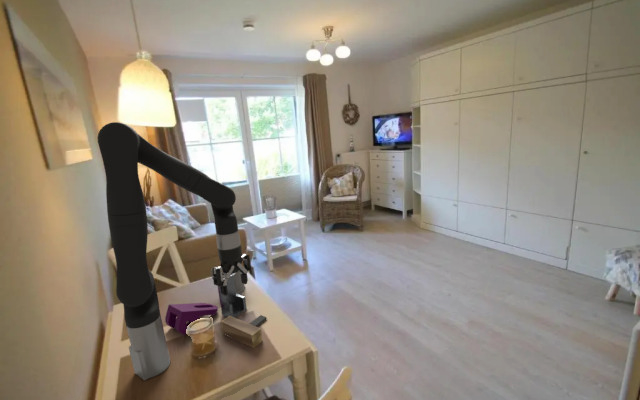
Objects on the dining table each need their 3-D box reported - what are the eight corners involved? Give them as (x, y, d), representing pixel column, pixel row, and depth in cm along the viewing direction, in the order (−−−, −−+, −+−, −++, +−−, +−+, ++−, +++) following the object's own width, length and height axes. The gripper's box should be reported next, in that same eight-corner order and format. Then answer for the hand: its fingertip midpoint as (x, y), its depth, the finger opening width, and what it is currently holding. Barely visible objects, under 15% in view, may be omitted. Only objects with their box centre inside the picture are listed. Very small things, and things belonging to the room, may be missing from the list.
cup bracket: (230, 321, 119) (225, 286, 116) (219, 316, 123) (214, 282, 119) (247, 309, 126) (243, 276, 123) (237, 305, 130) (232, 272, 126)
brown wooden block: (254, 348, 103) (252, 335, 102) (222, 333, 112) (220, 321, 111) (262, 341, 106) (260, 328, 105) (231, 327, 115) (229, 315, 114)
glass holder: (248, 289, 142) (244, 259, 139) (217, 300, 134) (212, 269, 131) (241, 282, 149) (237, 254, 146) (212, 293, 141) (207, 262, 138)
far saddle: (255, 328, 114) (255, 325, 113) (249, 325, 115) (249, 323, 115) (266, 319, 118) (266, 317, 118) (261, 317, 120) (260, 315, 120)
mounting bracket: (204, 322, 129) (162, 327, 115) (209, 302, 130) (168, 304, 116) (218, 330, 124) (176, 335, 109) (222, 308, 125) (182, 311, 111)
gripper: (218, 254, 95) (225, 301, 98) (252, 239, 106) (257, 282, 110) (203, 250, 99) (211, 295, 102) (238, 236, 110) (243, 277, 114)
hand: (235, 288), depth 106 cm, fingers open, 8 cm apart
